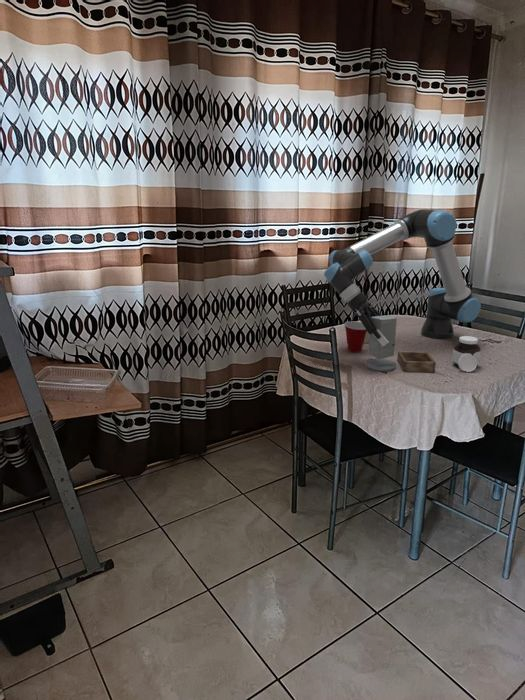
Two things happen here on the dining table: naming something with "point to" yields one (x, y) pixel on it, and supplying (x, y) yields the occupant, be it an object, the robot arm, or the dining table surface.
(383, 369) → the slate plate
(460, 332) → the dining table surface
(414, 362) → the walnut collar
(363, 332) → the plastic cup
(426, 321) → the robot arm
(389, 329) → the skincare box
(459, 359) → the spread jar
